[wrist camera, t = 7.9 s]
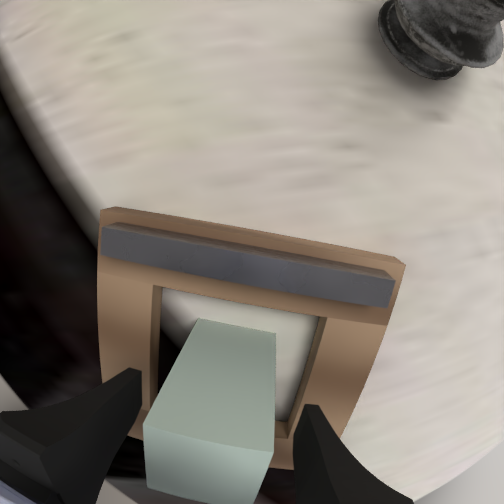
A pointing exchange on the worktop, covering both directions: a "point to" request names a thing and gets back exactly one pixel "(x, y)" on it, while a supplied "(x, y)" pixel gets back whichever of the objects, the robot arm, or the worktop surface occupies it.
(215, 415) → the peg
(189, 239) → the metal rail
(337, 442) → the robot arm
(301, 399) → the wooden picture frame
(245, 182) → the worktop surface
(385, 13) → the grey chess piece
